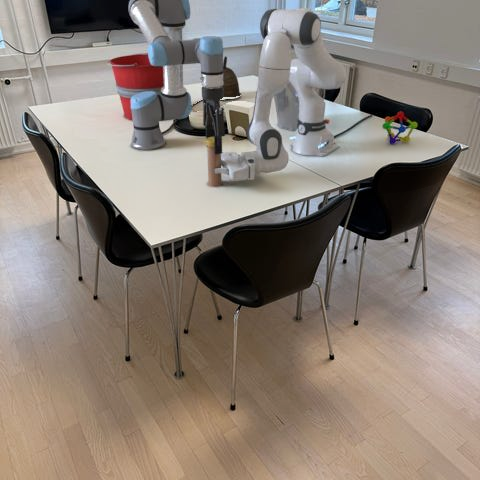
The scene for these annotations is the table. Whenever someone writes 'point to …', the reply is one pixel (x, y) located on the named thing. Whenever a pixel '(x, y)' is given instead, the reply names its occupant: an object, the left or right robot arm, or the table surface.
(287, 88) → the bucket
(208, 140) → the lid
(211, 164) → the jar
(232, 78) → the bell
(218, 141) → the left robot arm
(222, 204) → the table surface
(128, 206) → the table surface
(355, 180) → the table surface
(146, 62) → the bucket
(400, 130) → the educational toy
